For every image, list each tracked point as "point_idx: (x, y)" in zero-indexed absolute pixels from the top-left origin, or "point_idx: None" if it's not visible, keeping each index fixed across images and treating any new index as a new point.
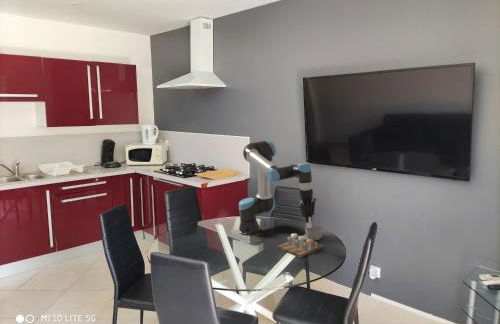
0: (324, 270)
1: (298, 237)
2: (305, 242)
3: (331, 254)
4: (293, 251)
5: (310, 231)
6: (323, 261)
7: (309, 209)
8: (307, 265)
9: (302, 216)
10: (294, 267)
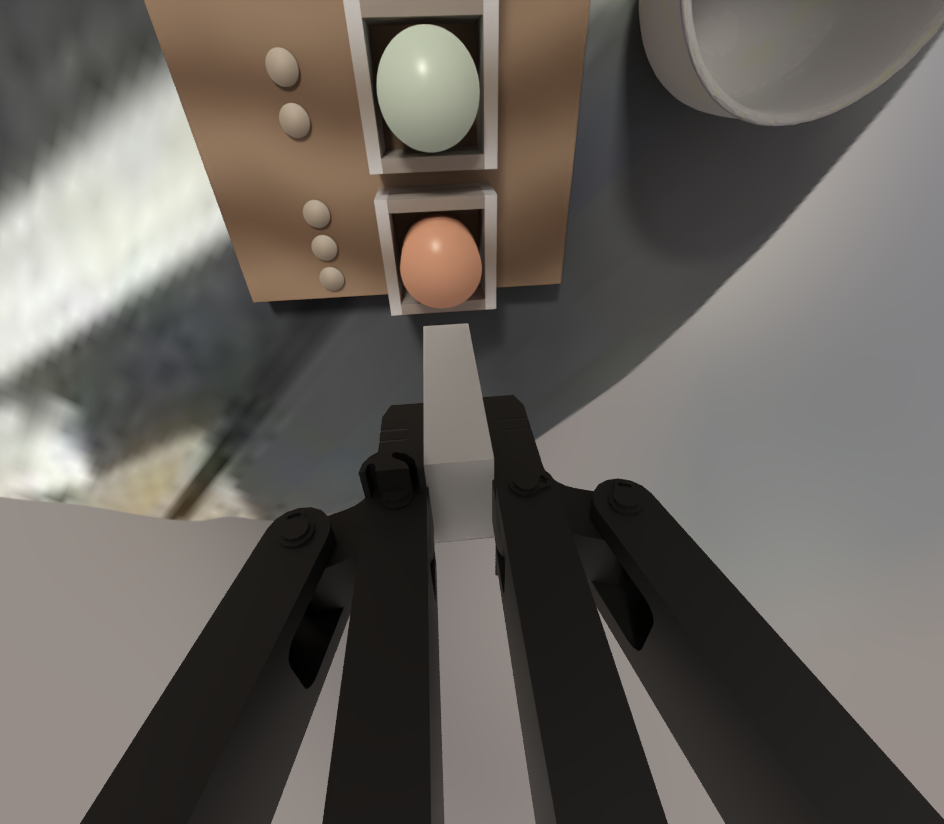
0: (311, 505)
1: (384, 54)
2: (407, 211)
3: None
4: (228, 185)
5: (680, 26)
6: None
7: (530, 759)
8: (252, 417)
9: (275, 525)
10: (144, 387)
